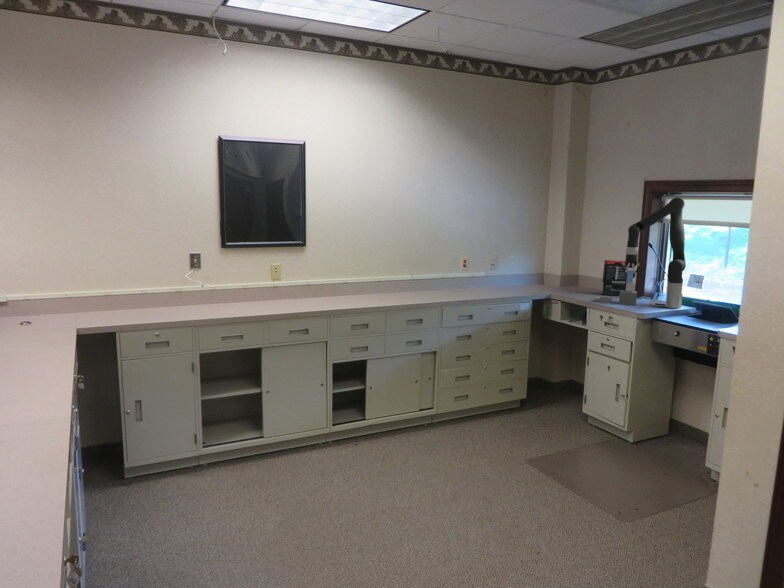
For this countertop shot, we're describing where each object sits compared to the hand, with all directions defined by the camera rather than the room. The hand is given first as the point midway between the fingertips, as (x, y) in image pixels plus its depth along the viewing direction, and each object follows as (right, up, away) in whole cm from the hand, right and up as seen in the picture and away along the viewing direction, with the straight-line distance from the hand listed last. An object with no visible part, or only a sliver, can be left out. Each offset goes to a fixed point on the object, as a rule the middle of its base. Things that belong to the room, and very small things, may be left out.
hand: (629, 277), depth 403 cm
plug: (0, -4, +1) cm, 4 cm away
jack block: (-8, -18, +6) cm, 20 cm away
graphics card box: (+3, -13, +39) cm, 41 cm away
